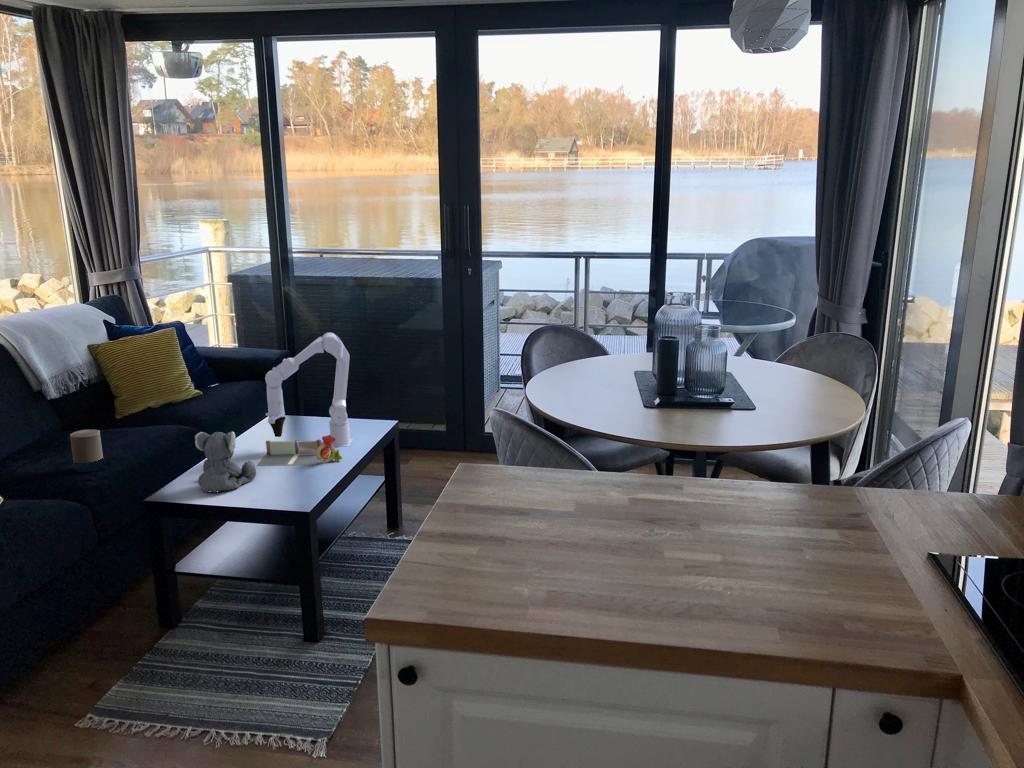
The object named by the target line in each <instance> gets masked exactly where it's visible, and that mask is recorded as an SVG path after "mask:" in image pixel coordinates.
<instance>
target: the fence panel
mask: <svg viewBox="0 0 1024 768" xmlns="http://www.w3.org/2000/svg"><path fill="white" fill-rule="evenodd" d="M265 445H266V454H267V455H281V454H298V448H299V444H298V440H297V439H296V440H266V441H265Z"/></svg>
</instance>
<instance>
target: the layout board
mask: <svg viewBox="0 0 1024 768" xmlns="http://www.w3.org/2000/svg"><path fill="white" fill-rule="evenodd" d="M323 449H324V448H323ZM319 462H320V460H319V459H318V458H317V456H316V454H299V447H298V454H281V455H267V453H265V454H264V456H263V457H262V458H261V459H260V460H259V462H258V463H257V464H256V466H255V467H272V466H276V467H277V466H279V467H280V466H283V467H284V466H285V467H286V466H316V465H318V464H319Z"/></svg>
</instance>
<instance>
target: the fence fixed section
mask: <svg viewBox="0 0 1024 768" xmlns="http://www.w3.org/2000/svg"><path fill="white" fill-rule="evenodd" d="M321 444H322V439H316V440H300V441H298V448H299V454H316V451H317V448H318V447H319V446H320V445H321Z"/></svg>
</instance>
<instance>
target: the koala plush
mask: <svg viewBox="0 0 1024 768" xmlns="http://www.w3.org/2000/svg"><path fill="white" fill-rule="evenodd" d="M194 439H195V441H194V443H195V447H196V449H197V450H200V451H201V452H204V454H205V457H206V459H205V460H204V461H203V465H202V470H203V473H201V474H200V475H199V477H198V481H197V484H198V485H199V486H200V487H201V488H202V489H203V491H204V492H206V491H211V492H210V493H212V492H213V493H214V492H215V493H216V492H217V491H219V492H222V491H225V490H228V491H229V490H230V491H231V489H232V490H236V489H235V488H237V489H239V488H240V487H241V486H242V484H243V485H245V484H248V483H251V481H253V480H254V479H255V478H256V476H257V469H256V466H255V462H254V461H252V460H248V461H245V462H244V463H243V464H242V465H241V467H240V466H239V465H238V464H237V463H236V462H235V461H233V460H232V458H233V455H234V452H235V449H237V447H236V441H237V439H236V433H235V432H234V431H230V432H227V433H225V432H221V431H215V432H213V433H210V434H208V433H207V432H203V431H200V432H198V433H196V434H195V436H194ZM247 482H248V483H247ZM221 490H222V491H221ZM217 493H218V492H217Z"/></svg>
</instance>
